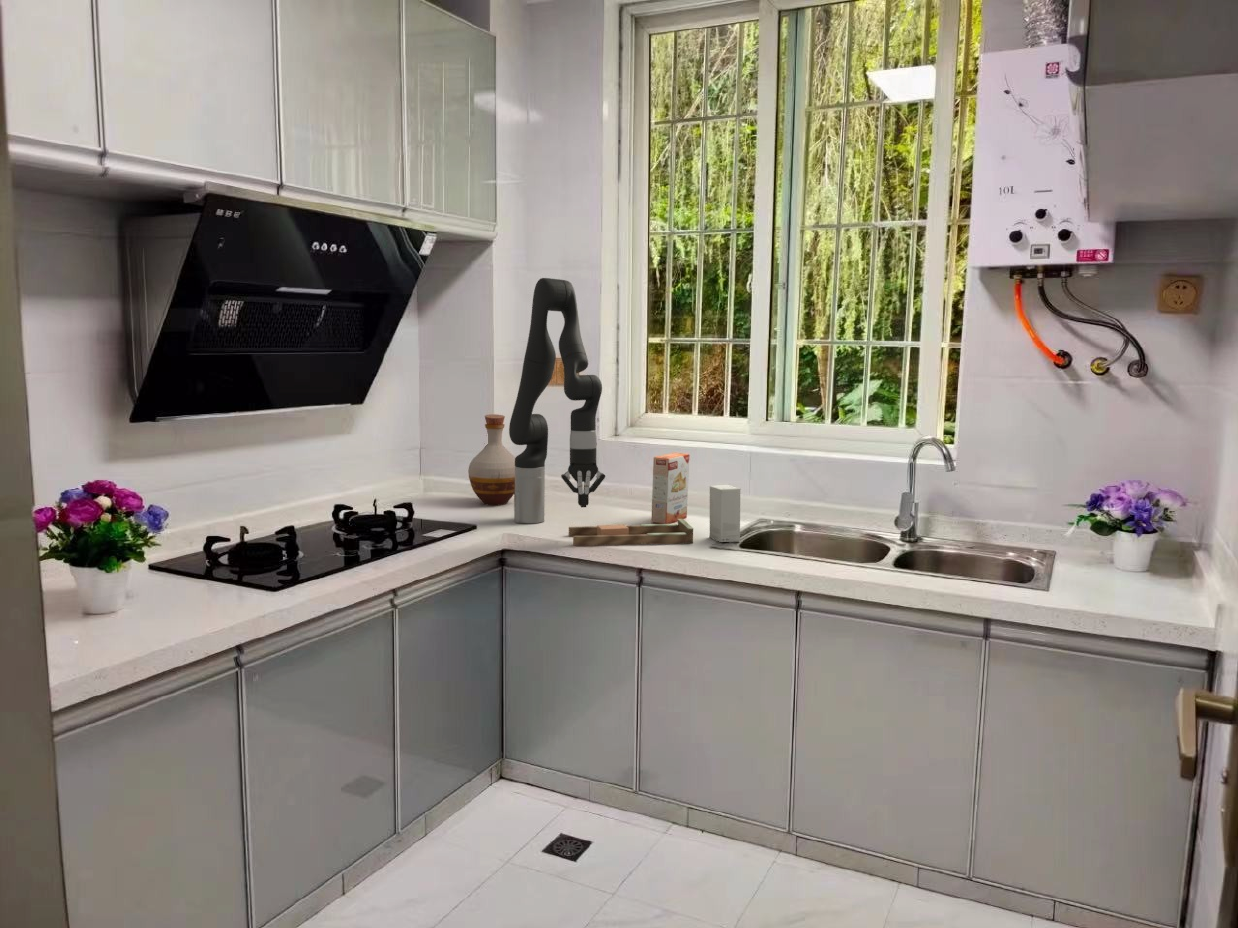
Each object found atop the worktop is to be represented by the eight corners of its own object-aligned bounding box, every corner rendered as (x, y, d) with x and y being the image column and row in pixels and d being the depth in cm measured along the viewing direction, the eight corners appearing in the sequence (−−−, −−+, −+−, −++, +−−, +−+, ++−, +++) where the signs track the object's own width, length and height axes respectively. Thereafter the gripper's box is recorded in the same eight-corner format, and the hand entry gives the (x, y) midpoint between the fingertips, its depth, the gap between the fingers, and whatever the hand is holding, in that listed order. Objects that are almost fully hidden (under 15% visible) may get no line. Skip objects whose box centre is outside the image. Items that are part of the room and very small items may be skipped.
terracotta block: (601, 542, 263) (601, 529, 262) (597, 538, 267) (597, 525, 267) (628, 541, 265) (628, 528, 264) (623, 537, 269) (624, 524, 269)
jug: (461, 499, 321) (460, 413, 317) (510, 495, 329) (510, 411, 324) (477, 509, 304) (476, 418, 299) (528, 506, 311) (528, 417, 307)
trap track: (573, 545, 258) (573, 530, 257) (568, 535, 270) (568, 520, 270) (693, 543, 263) (693, 528, 263) (682, 532, 276) (682, 518, 275)
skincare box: (740, 542, 265) (742, 488, 263) (719, 543, 263) (720, 489, 261) (728, 535, 273) (729, 483, 271) (707, 537, 271) (709, 484, 269)
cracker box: (667, 525, 286) (669, 458, 282) (650, 523, 289) (652, 456, 285) (688, 517, 297) (690, 453, 294) (671, 515, 300) (673, 451, 297)
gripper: (604, 444, 265) (604, 503, 268) (558, 445, 263) (558, 505, 266) (608, 447, 258) (608, 508, 260) (561, 448, 256) (561, 510, 258)
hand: (583, 506), depth 263 cm, fingers closed
